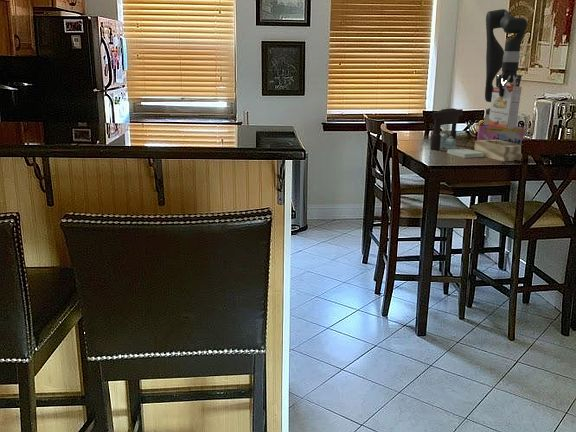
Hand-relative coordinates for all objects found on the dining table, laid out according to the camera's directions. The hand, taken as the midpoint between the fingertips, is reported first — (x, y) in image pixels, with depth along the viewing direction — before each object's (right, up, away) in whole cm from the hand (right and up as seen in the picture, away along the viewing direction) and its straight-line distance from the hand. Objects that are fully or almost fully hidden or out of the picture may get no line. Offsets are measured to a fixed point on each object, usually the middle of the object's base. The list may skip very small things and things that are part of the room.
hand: (506, 96), depth 282 cm
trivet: (-17, -28, +11) cm, 35 cm away
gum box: (+5, -25, +26) cm, 36 cm away
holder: (-1, -29, +8) cm, 30 cm away
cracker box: (-1, -15, +5) cm, 16 cm away
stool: (-21, -21, +35) cm, 46 cm away
